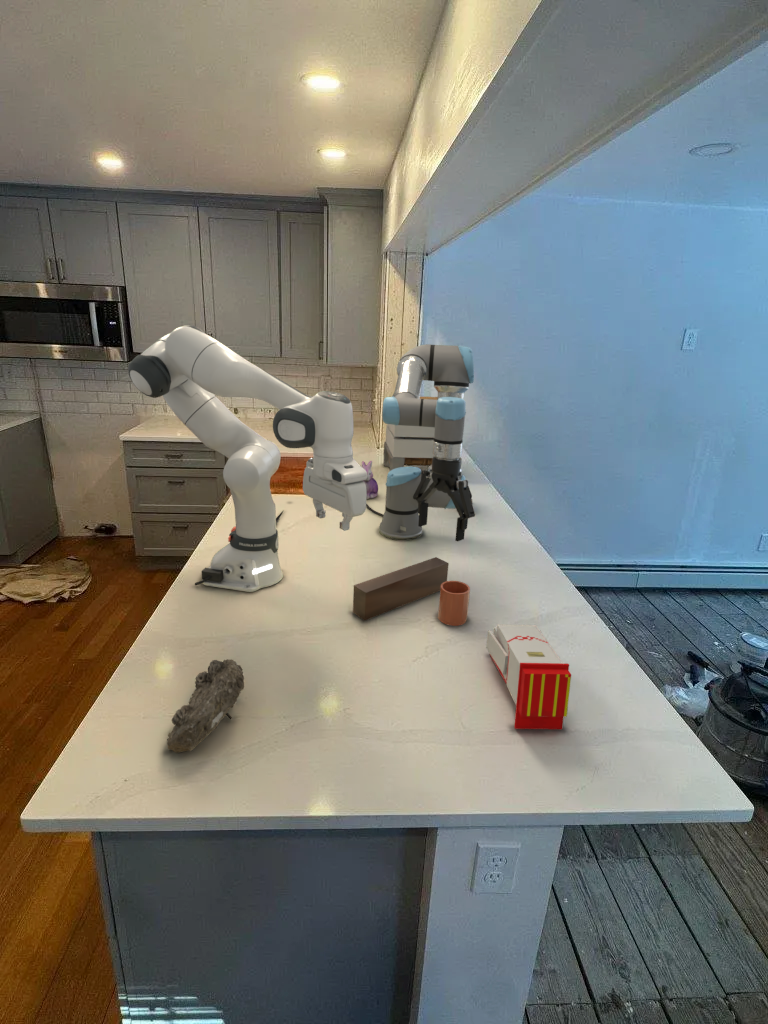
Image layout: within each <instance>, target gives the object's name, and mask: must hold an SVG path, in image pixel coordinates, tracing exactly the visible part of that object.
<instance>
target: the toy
mask: <svg viewBox="0 0 768 1024" xmlns="http://www.w3.org/2000/svg"><path fill="white" fill-rule="evenodd" d="M486 636H487V637H486V638H487V639H486V644H485V645H486V646H485V649H486V650H487V652H488V653H489V656H490V658H491V660H492V661H493V663H494V665H495V667H496V669H497V670H498V672H499V674H500V676H501V678H502V679H503V681H504V683H505V684H506V687H507V689H508V691H509V694H510V696H511V698H512V700H513V702H514V704H515V715H514V730H563V723H564V717H565V718H566V717H567V716H568V709H569V699H570V692H571V691H570V690H571V682H572V681H571V680H572V673H571V671H569V670H570V669H569V668H570V664H569V663H564V662H563V661H562V659H561V658H560V657H559V655H558V654H557V652H556V651H555V650H554V648H553V647H552V646H551V644H550V643H549V641H548V640H547V638H546V637H545V636H544V634H543V633H542V631H541V630H540V629H539V628H538V626H537V625H536V624H498V623H497V625H496V626H493V631H492V630H488V631H487V635H486Z"/></svg>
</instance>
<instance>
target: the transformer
mask: <svg viewBox="0 0 768 1024" xmlns="http://www.w3.org/2000/svg"><path fill="white" fill-rule="evenodd" d="M393 395H394V393H393V394H392V396H393ZM437 398H438V396H420V397H419V399H433V400H437ZM464 431H465V430H463V433H464ZM434 433H435V427H422V426H405V425H392V424H386V428H385V438H384V442H383V466H384V467H388V468H389V472H390V471H391V470H393V469H395V468H399V467H405V466H406V467H417V466H418V467H429V466H430V465H432V458H433V445H434ZM463 442H464V440H463V441H462V444H463ZM459 459H460V460H461V463H462V461H463V460H462V456H461V457H460V458H459ZM460 469H461V470H462V464H461V465H460Z"/></svg>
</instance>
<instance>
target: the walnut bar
mask: <svg viewBox="0 0 768 1024" xmlns="http://www.w3.org/2000/svg"><path fill="white" fill-rule="evenodd" d="M449 564H450V563H449V562H447V561H445V560H443V559H441V558H439V557H437V556H435V557H433V558H430V559H429V558H428V559H426V560H423V561H420V562H418V563H415V564H412V565H408V566H405V567H402V568H400V569H398V570H394V571H391V572H388V573H385V574H383V575H380V576H376V577H374V578H371V579H368V580H365V581H362V582H360V583H356V584H354V585H353V593H352V595H353V596H352V597H353V598H352V599H353V600H352V613H353V614H354V615H356V616H357V617H359V618H360V619H361V620H363V621H368V620H371V619H373V618H375V617H378V616H380V615H383V614H385V613H388V612H391V611H393V610H396V609H398V608H402V607H403V606H405V605H409V604H411V603H413V602H416V601H418V600H421V599H423V598H426V597H428V596H431V595H434V594H436V593H438V592H440V587H441V584H442V583H443V582H446V581H448V575H449Z"/></svg>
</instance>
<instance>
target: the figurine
mask: <svg viewBox="0 0 768 1024" xmlns="http://www.w3.org/2000/svg"><path fill="white" fill-rule="evenodd" d="M372 466H373V460H369V461H368V463H367V464H366V462H365V461H364V460H362V461H361V467H362V468H363V469H365V470H366V472H367V479H366V480H363V482H364V483H365V485H366V494H367V496H366V500H369V499H374V498H377V497H378V493H379V485H378V481H377V480H376V478H374V473H373V471H372Z"/></svg>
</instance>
